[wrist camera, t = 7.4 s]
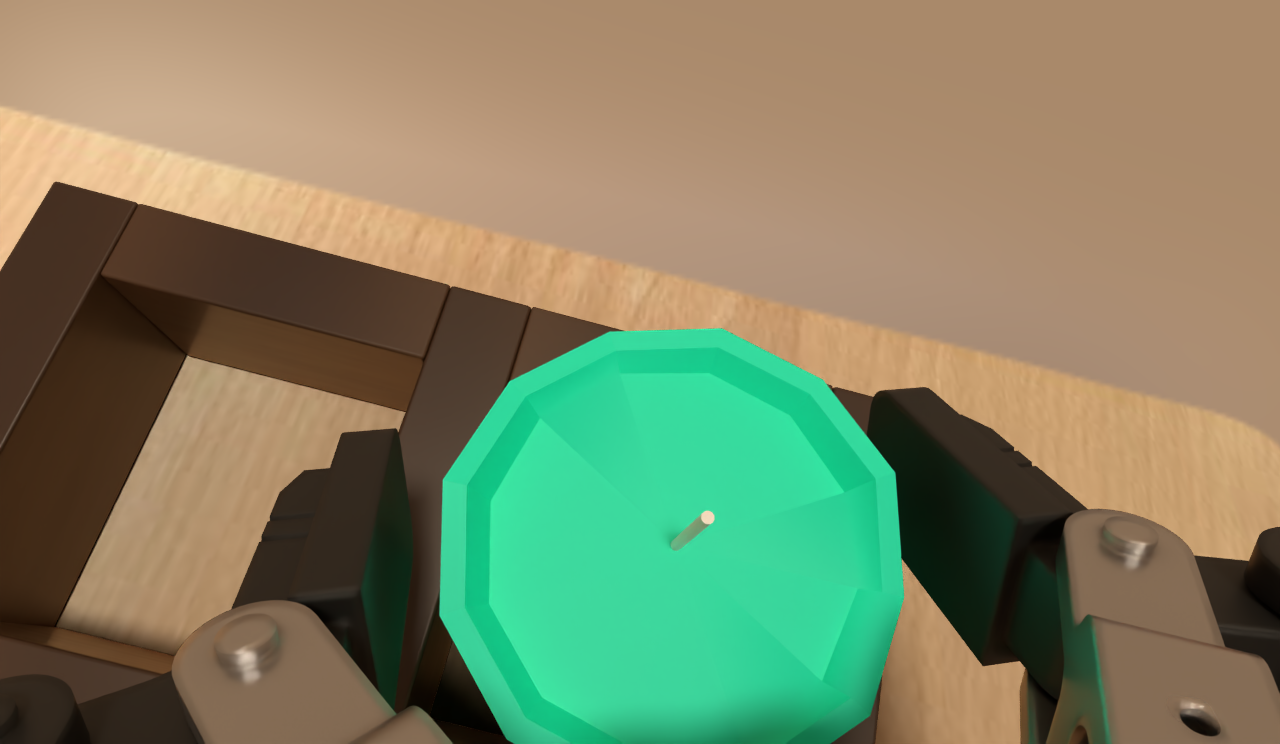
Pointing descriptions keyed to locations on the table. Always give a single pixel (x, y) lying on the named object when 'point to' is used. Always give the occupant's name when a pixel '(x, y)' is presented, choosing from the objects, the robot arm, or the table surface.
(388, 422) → the table surface
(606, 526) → the candle
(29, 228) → the rack
